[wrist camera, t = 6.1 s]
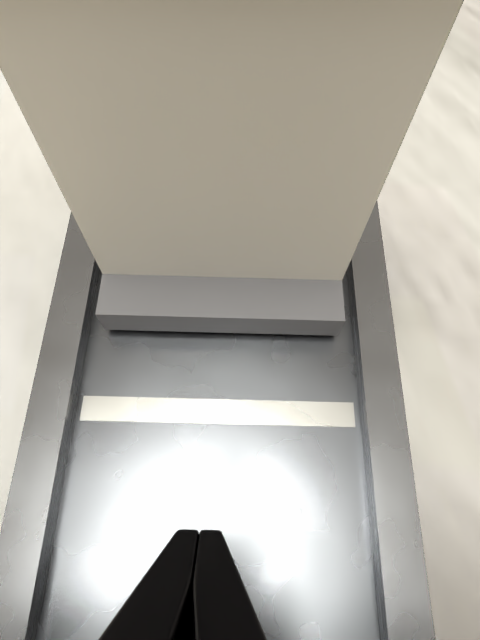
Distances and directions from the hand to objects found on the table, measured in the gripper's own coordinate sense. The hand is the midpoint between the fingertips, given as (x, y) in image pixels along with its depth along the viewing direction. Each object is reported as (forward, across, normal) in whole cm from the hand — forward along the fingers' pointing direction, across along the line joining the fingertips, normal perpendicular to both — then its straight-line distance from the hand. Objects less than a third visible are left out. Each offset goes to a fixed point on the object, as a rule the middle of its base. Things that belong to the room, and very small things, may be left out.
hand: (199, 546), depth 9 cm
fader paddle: (+10, 0, -3) cm, 10 cm away
